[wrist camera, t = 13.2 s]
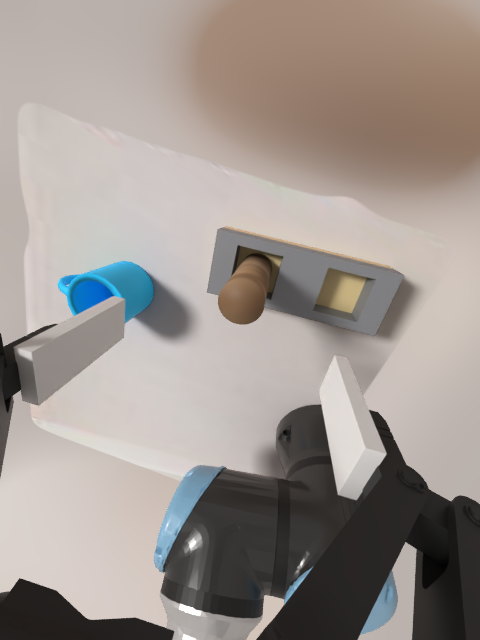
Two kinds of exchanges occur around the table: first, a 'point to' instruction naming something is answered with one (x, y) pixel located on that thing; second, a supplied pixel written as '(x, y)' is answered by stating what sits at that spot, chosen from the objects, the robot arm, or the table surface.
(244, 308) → the peg
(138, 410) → the table surface
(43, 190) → the table surface
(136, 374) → the table surface
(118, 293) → the mug
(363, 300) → the rail
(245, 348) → the table surface
